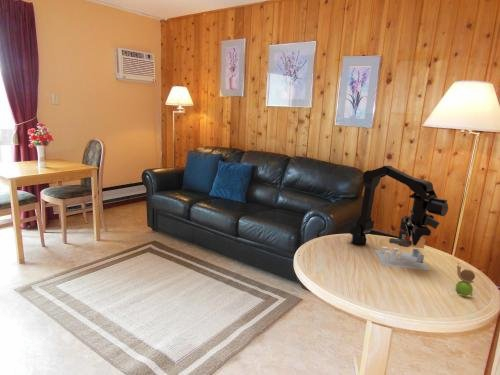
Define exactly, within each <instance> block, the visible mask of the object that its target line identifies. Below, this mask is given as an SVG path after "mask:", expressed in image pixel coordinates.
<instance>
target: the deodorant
mask: <svg viewBox="0 0 500 375" xmlns="http://www.w3.org/2000/svg"><path fill="white" fill-rule="evenodd" d="M404 217H405V216H403V217H401V220H400V224H399V231H398V237H397V239H402V240H410V239H409V235H408V231H407V228H406V225H405V224H407V223H408V221H407V222H406V223H405V222H404V221H403V219H404ZM397 245H398V246H401V247H405V248H406V247H407V248H408V247H411V246H410V245H402V244H397Z"/></svg>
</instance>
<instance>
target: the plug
mask: <svg viewBox="0 0 500 375" xmlns="http://www.w3.org/2000/svg"><path fill="white" fill-rule="evenodd" d="M388 242H389V244H395V245H398V244H402V245H410V246H409V247H411V248H414V249H425V243H426V239H425V238H424V237H423V236H421V238H420V239H419V241H418V243H417V245H416V246H415V245H413V242H412V236H410V240H402V239H398V238H392V237H390V238H389V240H388Z"/></svg>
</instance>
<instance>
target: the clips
mask: <svg viewBox="0 0 500 375" xmlns="http://www.w3.org/2000/svg"><path fill="white" fill-rule="evenodd" d="M388 248H389V247H387V246H382V249H381V250H382V253H384V254H385V256H384V257H385V258H390V250H388ZM392 251H393V255H396V259H400V260H401V255H402V253H403V252H400V251H399V248H398V247H393V250H392Z"/></svg>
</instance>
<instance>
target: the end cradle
mask: <svg viewBox="0 0 500 375" xmlns="http://www.w3.org/2000/svg"><path fill="white" fill-rule="evenodd" d="M411 251H412V253H411V254H412V256H416V257H417V262H420V263H423V262H424V258H425V255H424V254H423V252H422V251H421V250H420V248H415V247H412V250H411Z"/></svg>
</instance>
